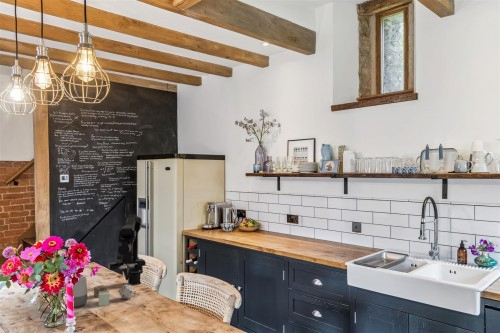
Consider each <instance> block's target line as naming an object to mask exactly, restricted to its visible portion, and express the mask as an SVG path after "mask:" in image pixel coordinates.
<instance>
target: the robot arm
mask: <svg viewBox="0 0 500 333" xmlns="http://www.w3.org/2000/svg"><path fill="white" fill-rule="evenodd" d="M142 226H143V219H142V217H140V216H138V215H137V214H129V215H128V216H127V217H126V224H125V225H124V226H123V225H122V227H121V229H120V230H119V233H118V234H119V235H118V238H117V239H118V240H117V242H118V243H120V245H119V246H118V248H117V252H118V254H115V261H111V262H108V263H107V268H108V270H110V271H114V270H117V269H119V270H120V271H122V273H123V275H124V279H125V281H127V283H128V285H131V284H133V285H132V286H134V285H135V286H136V285H140V284H142V282H141V275H142V274H143V273H144V268H143V267H145V266H146V260H145V259H144V258H140V257H139V232H140V231H141V229H142ZM116 261H119V262H116Z"/></svg>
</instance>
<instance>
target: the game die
mask: <svg viewBox="0 0 500 333" xmlns="http://www.w3.org/2000/svg"><path fill="white" fill-rule="evenodd" d="M133 286H134V285H133V284H131V285H130V284H125V283H122V286H121V288H119V290H118V292H119V295H120V300H122V299H128V300H129V301H131V298H132V296H133V294H135V290H134V288H133Z"/></svg>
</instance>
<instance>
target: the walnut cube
mask: <svg viewBox="0 0 500 333" xmlns="http://www.w3.org/2000/svg"><path fill="white" fill-rule="evenodd" d="M100 291H108V286H106V285H104V284H100V285H96V286H94V287H93V297H96V298H97V299H99V292H100Z"/></svg>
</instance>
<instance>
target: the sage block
mask: <svg viewBox="0 0 500 333" xmlns="http://www.w3.org/2000/svg"><path fill="white" fill-rule="evenodd" d="M104 306H106V307H107V306H110V290H107V291H100V292H99V298H98V307H104Z"/></svg>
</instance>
